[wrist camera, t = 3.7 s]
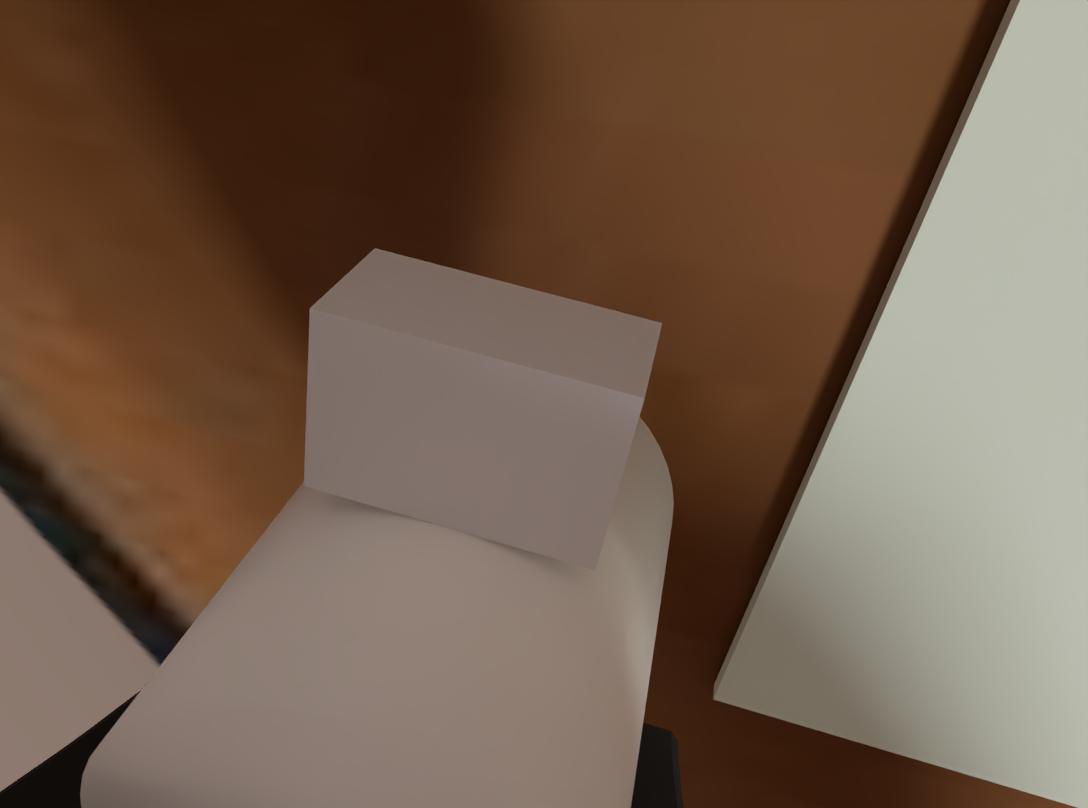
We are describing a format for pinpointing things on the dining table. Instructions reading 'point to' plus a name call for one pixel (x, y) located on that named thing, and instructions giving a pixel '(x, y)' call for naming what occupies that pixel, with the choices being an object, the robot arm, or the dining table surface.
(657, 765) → the robot arm
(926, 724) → the mat
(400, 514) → the grey rounded piece
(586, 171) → the dining table surface
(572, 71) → the dining table surface
